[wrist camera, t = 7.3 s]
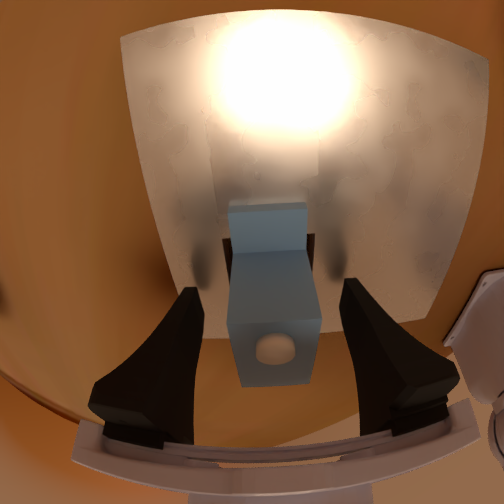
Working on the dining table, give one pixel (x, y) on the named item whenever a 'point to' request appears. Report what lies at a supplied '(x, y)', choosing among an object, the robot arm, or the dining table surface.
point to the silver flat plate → (309, 147)
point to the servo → (272, 295)
